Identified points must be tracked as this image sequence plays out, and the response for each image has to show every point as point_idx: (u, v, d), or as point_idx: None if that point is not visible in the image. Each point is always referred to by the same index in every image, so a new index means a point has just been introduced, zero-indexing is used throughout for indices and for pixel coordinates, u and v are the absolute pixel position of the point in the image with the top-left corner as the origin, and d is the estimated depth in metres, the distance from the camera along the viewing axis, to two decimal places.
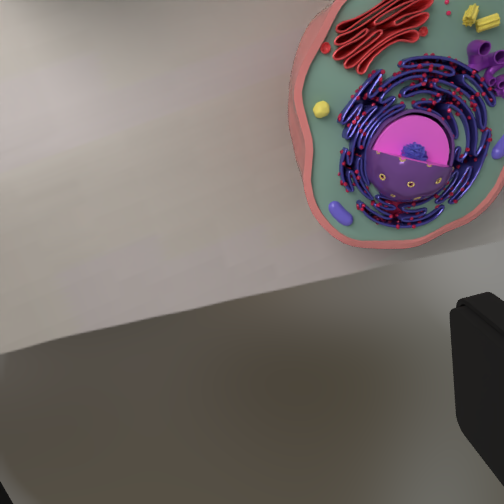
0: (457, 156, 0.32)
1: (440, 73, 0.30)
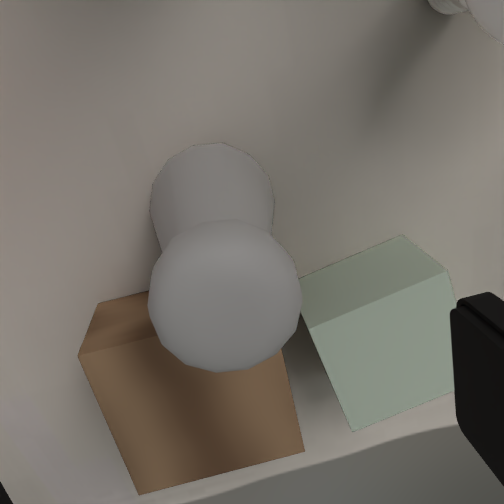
0: None
1: None
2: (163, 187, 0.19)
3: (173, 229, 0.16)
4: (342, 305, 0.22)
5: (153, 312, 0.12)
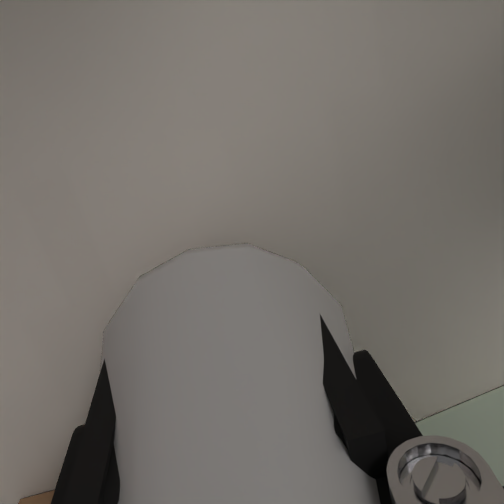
0: None
1: None
2: (119, 370, 0.08)
3: None
4: None
5: None
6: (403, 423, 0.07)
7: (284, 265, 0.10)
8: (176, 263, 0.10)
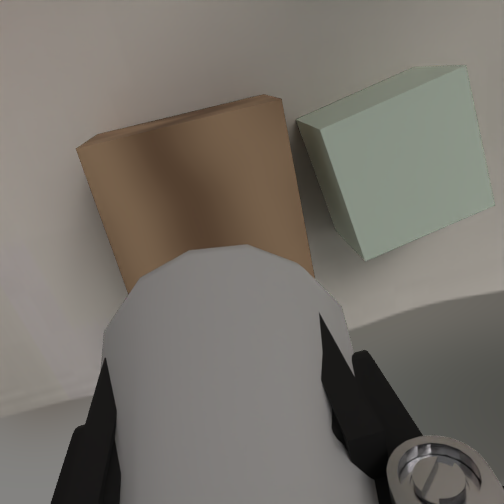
0: None
1: None
2: (119, 371, 0.08)
3: None
4: (355, 110, 0.21)
5: None
6: (402, 423, 0.07)
7: (284, 266, 0.10)
8: (176, 264, 0.10)
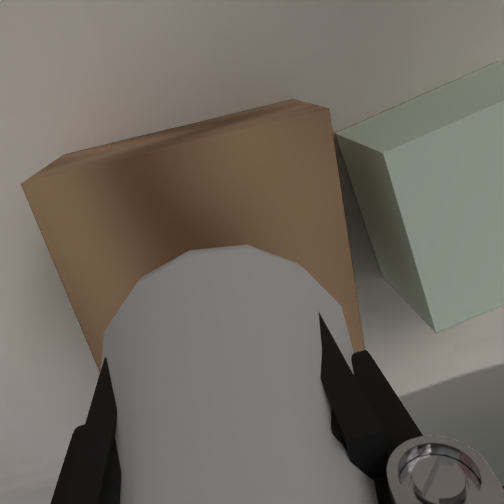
0: None
1: None
2: (119, 371, 0.08)
3: None
4: (431, 124, 0.15)
5: None
6: (403, 423, 0.07)
7: (284, 266, 0.10)
8: (176, 264, 0.10)
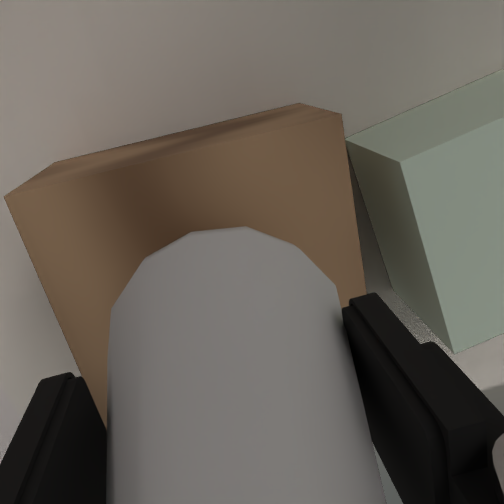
0: None
1: None
2: (125, 341, 0.09)
3: None
4: (451, 130, 0.14)
5: None
6: (489, 414, 0.07)
7: (280, 246, 0.10)
8: (179, 244, 0.10)
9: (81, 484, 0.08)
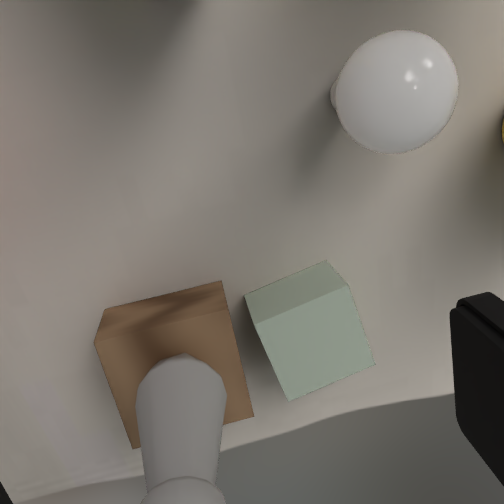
0: None
1: None
2: (145, 403, 0.27)
3: (151, 459, 0.24)
4: (278, 309, 0.32)
5: None
6: None
7: (199, 366, 0.29)
8: (163, 366, 0.29)
9: None
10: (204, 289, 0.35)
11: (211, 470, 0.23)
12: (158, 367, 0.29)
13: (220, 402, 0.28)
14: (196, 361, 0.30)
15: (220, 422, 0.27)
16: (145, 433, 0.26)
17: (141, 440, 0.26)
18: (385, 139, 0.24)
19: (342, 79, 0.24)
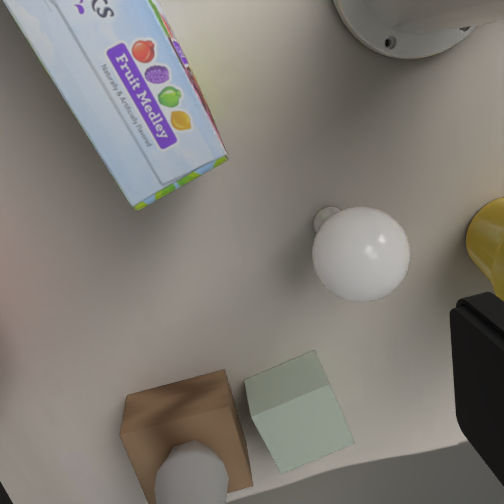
0: None
1: None
2: (162, 493, 0.34)
3: None
4: (271, 402, 0.39)
5: None
6: None
7: (206, 458, 0.36)
8: (176, 459, 0.35)
9: None
10: (210, 379, 0.41)
11: None
12: (172, 459, 0.36)
13: (222, 489, 0.35)
14: (203, 453, 0.36)
15: None
16: None
17: None
18: (350, 298, 0.30)
19: (316, 247, 0.30)
